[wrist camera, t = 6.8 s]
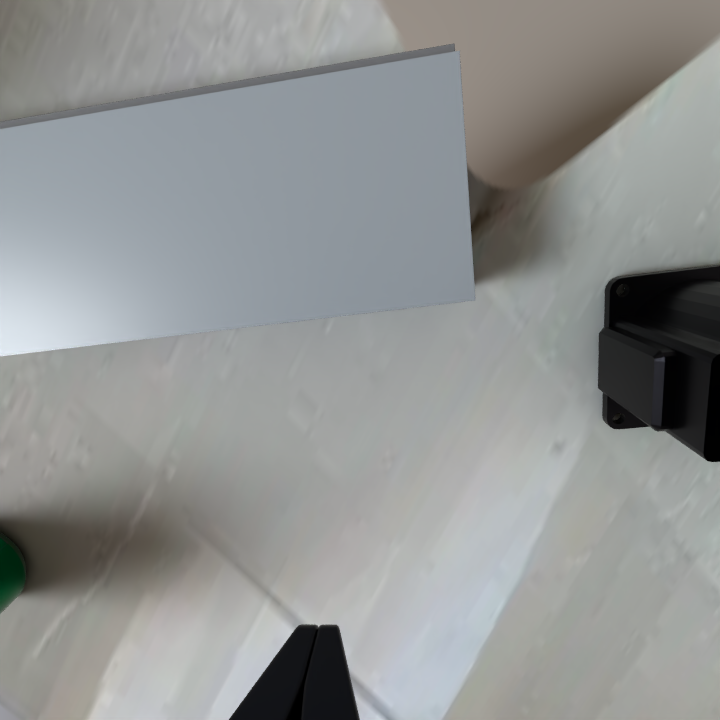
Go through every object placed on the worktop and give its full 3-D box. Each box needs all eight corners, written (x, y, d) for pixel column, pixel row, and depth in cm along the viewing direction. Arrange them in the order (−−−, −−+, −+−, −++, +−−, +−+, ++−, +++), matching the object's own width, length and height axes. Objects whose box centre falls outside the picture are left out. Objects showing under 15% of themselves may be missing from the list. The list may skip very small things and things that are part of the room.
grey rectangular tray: (444, 72, 16) (454, 43, 14) (459, 288, 18) (470, 296, 16) (-46, 153, 18) (-113, 141, 16) (19, 341, 20) (-31, 356, 18)
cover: (455, 61, 14) (459, 50, 13) (471, 297, 16) (475, 300, 15) (-107, 156, 16) (-132, 151, 15) (-35, 357, 18) (-55, 362, 17)
